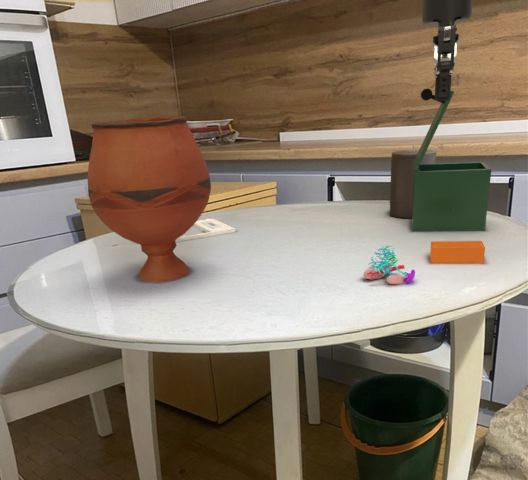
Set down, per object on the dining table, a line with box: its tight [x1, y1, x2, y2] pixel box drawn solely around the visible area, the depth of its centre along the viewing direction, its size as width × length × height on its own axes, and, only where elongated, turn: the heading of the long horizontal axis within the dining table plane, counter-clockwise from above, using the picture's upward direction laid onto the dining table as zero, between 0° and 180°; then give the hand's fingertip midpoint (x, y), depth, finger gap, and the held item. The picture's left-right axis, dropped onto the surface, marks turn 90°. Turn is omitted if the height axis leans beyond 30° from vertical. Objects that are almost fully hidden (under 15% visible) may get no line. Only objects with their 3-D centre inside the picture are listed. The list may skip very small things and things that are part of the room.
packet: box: [429, 240, 486, 264], centre depth 87 cm, size 4×8×3 cm, turn 76°
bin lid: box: [414, 88, 455, 171], centre depth 103 cm, size 14×12×5 cm
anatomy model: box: [362, 245, 416, 285], centre depth 80 cm, size 5×8×7 cm
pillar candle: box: [388, 145, 437, 219], centre depth 120 cm, size 10×10×15 cm
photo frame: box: [175, 218, 236, 243], centre depth 120 cm, size 15×1×18 cm
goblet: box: [87, 115, 212, 283], centre depth 86 cm, size 19×19×25 cm
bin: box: [411, 161, 492, 233], centre depth 108 cm, size 14×12×12 cm
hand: (441, 100), depth 91 cm, fingers open, 8 cm apart
